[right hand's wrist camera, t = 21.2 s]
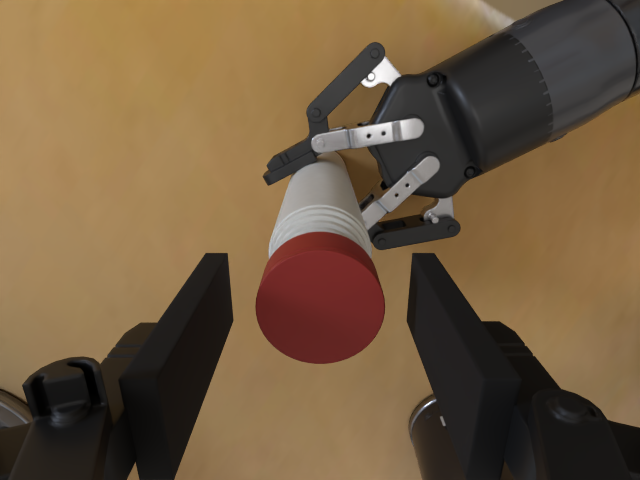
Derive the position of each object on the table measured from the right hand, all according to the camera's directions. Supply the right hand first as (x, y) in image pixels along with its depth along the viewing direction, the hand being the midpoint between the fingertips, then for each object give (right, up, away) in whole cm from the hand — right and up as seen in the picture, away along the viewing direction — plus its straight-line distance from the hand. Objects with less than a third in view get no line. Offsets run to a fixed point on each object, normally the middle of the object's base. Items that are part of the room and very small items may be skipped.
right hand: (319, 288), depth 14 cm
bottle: (0, +7, +19) cm, 21 cm away
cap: (0, 0, -1) cm, 1 cm away
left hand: (-2, +4, +14) cm, 15 cm away
